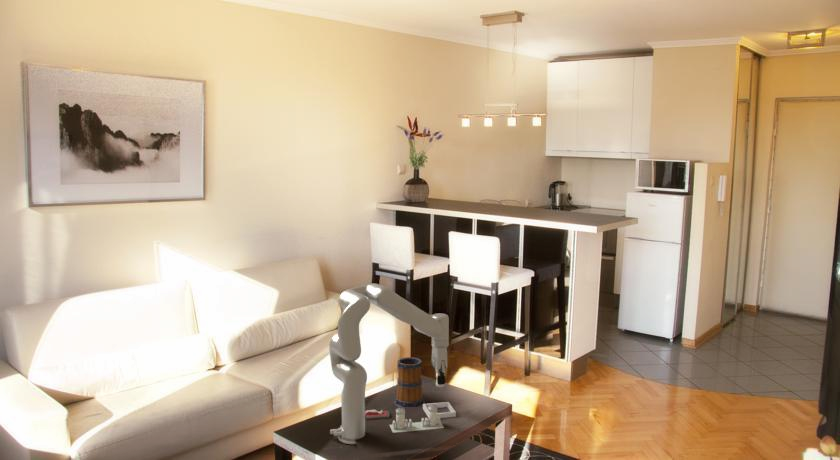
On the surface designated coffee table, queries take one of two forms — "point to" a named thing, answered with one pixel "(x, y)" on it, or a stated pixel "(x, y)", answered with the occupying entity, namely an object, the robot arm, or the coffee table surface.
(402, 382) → the mug
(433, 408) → the far fuse
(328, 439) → the coffee table surface
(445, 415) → the tray
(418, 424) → the board
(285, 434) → the coffee table surface
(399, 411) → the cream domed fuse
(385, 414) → the red flat piece
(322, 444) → the coffee table surface
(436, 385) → the marked fuse
